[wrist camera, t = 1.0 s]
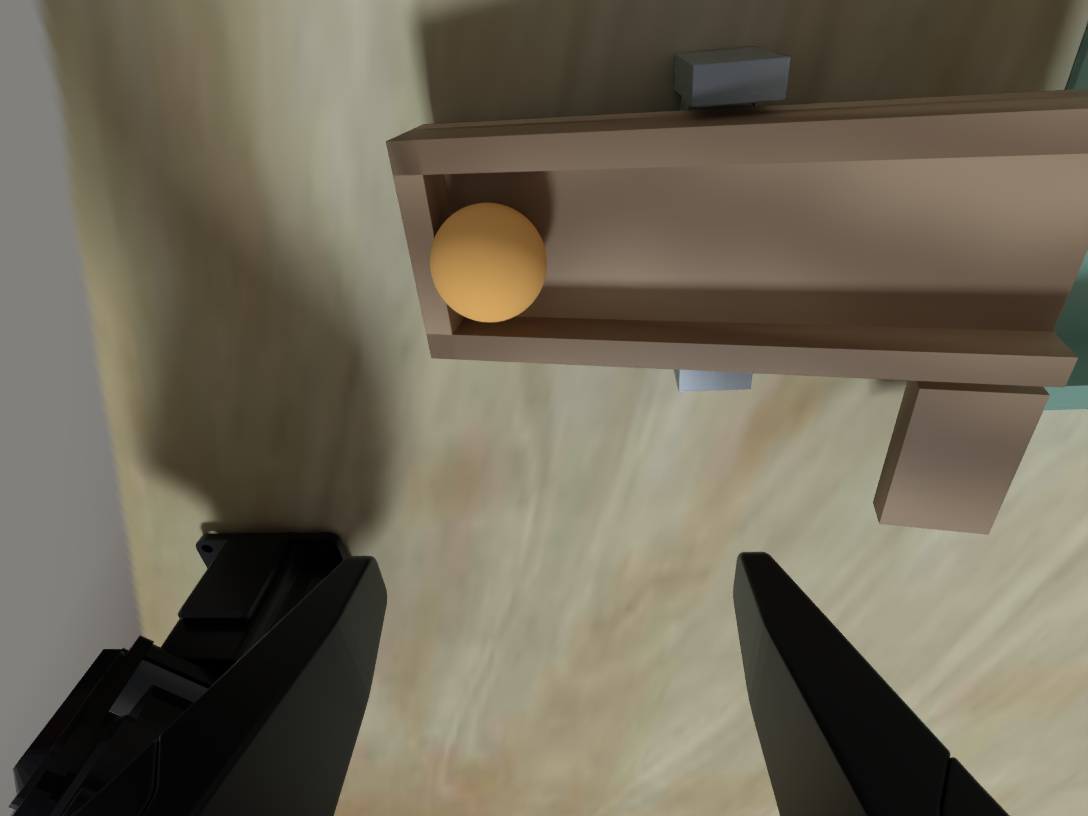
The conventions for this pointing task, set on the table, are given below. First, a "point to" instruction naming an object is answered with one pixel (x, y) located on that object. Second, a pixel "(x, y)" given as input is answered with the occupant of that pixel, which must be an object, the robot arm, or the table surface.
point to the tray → (1075, 297)
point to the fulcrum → (726, 85)
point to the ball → (488, 262)
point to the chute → (794, 258)
